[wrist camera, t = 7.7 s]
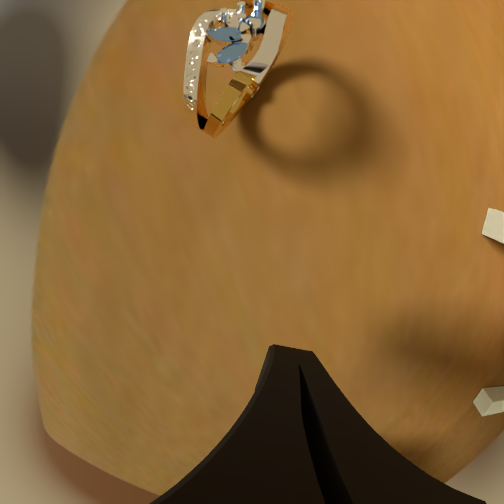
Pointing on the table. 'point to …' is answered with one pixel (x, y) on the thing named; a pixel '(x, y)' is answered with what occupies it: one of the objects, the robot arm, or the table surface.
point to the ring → (232, 58)
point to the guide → (500, 398)
